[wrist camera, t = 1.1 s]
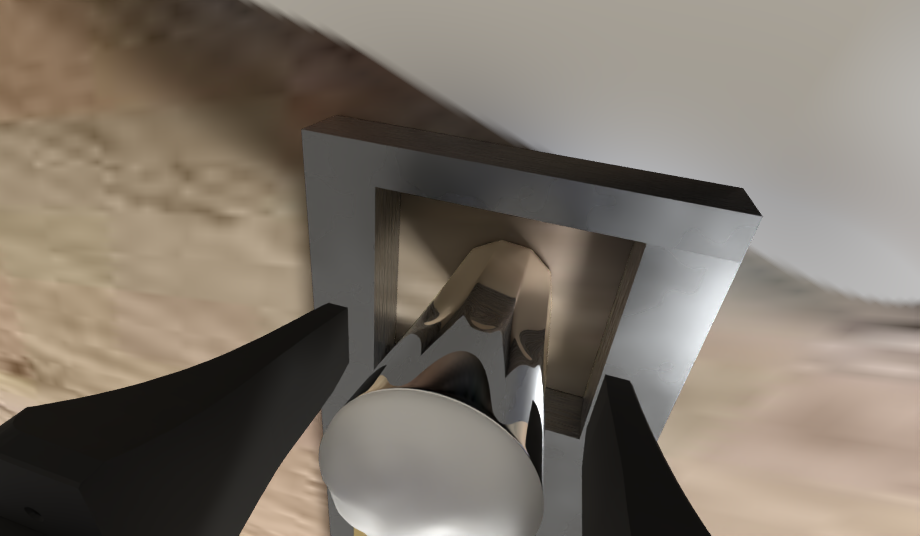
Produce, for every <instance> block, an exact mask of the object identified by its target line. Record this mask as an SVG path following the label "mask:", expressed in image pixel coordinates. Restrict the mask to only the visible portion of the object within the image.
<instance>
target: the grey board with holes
mask: <svg viewBox="0 0 920 536" xmlns="http://www.w3.org/2000/svg"><path fill="white" fill-rule="evenodd" d="M301 131H302V145H303V159H304V173H305V187H306V201H307V214H308V228H309V242H310V256H311V270H312V284H313V298H314V310H315V309H316V308H318V307H320V306H322V305H325V304H327V303H332V304H336V305H340V306H344V307H348V330H349V364H348V366H347V367H346V369H345V371H344V373H343V375H342V377H341V379H340V381H339V382H338V384H337V386H336V388H335V389H334V391H333V393H332V394H331V396H330V397H329V398H328V400H327V401H326V403H325V404H324V405H323V407H322V408H321V409H322V423H323V435H324V433H325V431H326V429H327V427H328V425H329V424H330V422H331V421H332V419H333V418H334V416H335V415H336V414H337V412H338V411H339V410H340V409H341V408H342V407H343V406H344V404H345V403H346V402H347V401H348V400H349V399H350V397H351V396H352V395H353V394H354V393H355V391H356V390H357V389H358V388H359V387H360V386H361V384H362V383H363V382H364V381H365V380H366V379H367V377H368V376H369V375H370V374H371V373H372V372H373V370H374V369H375V368H376V367H377V366H378V365H379V363H380V362H381V361H382V360H383V359H384V358H385V356H386V355H387V354H388V353H389V352H390V351H391V349H392V348H393V347H394V346H395V331H396V304H397V278H398V252H399V226H400V199H401V192H403V193H407V194H412V195H417V196H422V197H427V198H431V199H436V200H441V201H446V202H451V203H456V204H460V205H465V206H470V207H475V208H480V209H484V210H489V211H494V212H499V213H504V214H508V215H513V216H518V217H523V218H528V219H533V220H537V221H542V222H547V223H552V224H557V225H561V226H566V227H571V228H576V229H581V230H585V231H590V232H595V233H600V234H605V235H610V236H614V237H619V238H624V239H629V240H634V243H633V246H632V249H631V252H630V255H629V258H628V261H627V264H626V267H625V270H624V273H623V276H622V279H621V282H620V285H619V288H618V292H617V295H616V298H615V301H614V304H613V307H612V310H611V313H610V316H609V319H608V322H607V325H606V328H605V331H604V334H603V337H602V340H601V344H600V347H599V350H598V353H597V356H596V359H595V362H594V365H593V368H592V371H591V374H590V377H589V380H588V383H587V386H586V389H585V392H584V396H583V398H582V397H578V396H575V395H571V394H567V393H564V392H560V391H556V390H553V389H549V388H545V405H546V413H545V453H544V488H543V497H544V511H543V517H542V521H541V524H540V527H539V529H538V531H537V533H536V534H535V536H582V461H583V452H584V443H585V435H586V428H587V425H588V422H589V420H590V417H591V414H592V411H593V408H594V405H595V402H596V400H597V397H598V394H599V391H600V388H601V385H602V382H603V379H604V377H605V374H606V375H610V376H614V377H618V378H621V379H625V380H629V381H630V382H631V383H632V385H633V387H634V390H635V393H636V395H637V398H638V400H639V403H640V405H641V408H642V410H643V413H644V415H645V417H646V420H647V422H648V424H649V426H650V429H651V431H652V433H653V435H654V437H655V439H656V441H657V440H658V438H659V436H660V434H661V432H662V430H663V428H664V425H665V423H666V421H667V419H668V417H669V415H670V413H671V411H672V408H673V406H674V404H675V402H676V400H677V398H678V396H679V394H680V391H681V389H682V387H683V385H684V383H685V381H686V379H687V377H688V374H689V372H690V370H691V368H692V366H693V364H694V362H695V360H696V357H697V355H698V353H699V351H700V349H701V347H702V345H703V343H704V340H705V338H706V336H707V334H708V332H709V330H710V328H711V326H712V323H713V321H714V319H715V317H716V315H717V313H718V311H719V309H720V306H721V304H722V302H723V300H724V298H725V296H726V294H727V292H728V289H729V287H730V285H731V283H732V281H733V279H734V277H735V275H736V272H737V270H738V268H739V266H740V264H741V262H742V260H743V258H744V256H745V253H746V251H747V249H748V247H749V245H750V243H751V241H752V239H753V236H754V234H755V232H756V230H757V228H758V226H759V224H760V221H761V219H762V215H761V213H760V212H759V210H758V209H757V208H756V206H755V205H754V203H753V202H752V200H751V199H750V197H749V196H748V195H747V193H746V192H745V190H744V189H743V188H739V187H733V186H728V185H722V184H716V183H711V182H705V181H700V180H694V179H689V178H683V177H678V176H672V175H666V174H661V173H656V172H650V171H644V170H639V169H633V168H628V167H622V166H617V165H610V164H605V163H600V162H595V161H589V160H583V159H578V158H572V157H567V156H561V155H556V154H550V153H545V152H539V151H533V150H528V149H522V148H517V147H511V146H506V145H500V144H495V143H489V142H484V141H478V140H472V139H467V138H461V137H456V136H450V135H445V134H439V133H434V132H428V131H422V130H417V129H411V128H406V127H400V126H395V125H389V124H384V123H378V122H373V121H367V120H361V119H356V118H350V117H345V116H339V115H335V116H333V117H331V118H328V119H326V120H323V121H321V122H318V123H316V124H313V125H311V126H308V127H306V128H304V129H301ZM327 493H328V507H329V521H330V535H331V536H367V535H366V534H365V533H363V532H362V531H359V530H358V529H356V528H354V527H353V526H351V525H350V524H349V523H348V522H347V521H346V520H345V519H344V518H343V517H342V516H341V515H340V514H339V512H338V510H337V508H336V506H335V504H334V501H333V498H332V495H331V492H330V490H329V488H328V486H327Z"/></svg>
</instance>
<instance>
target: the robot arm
mask: <svg viewBox="0 0 920 536" xmlns="http://www.w3.org/2000/svg"><path fill="white" fill-rule="evenodd" d="M348 364H349V330H348V307H344V306H340V305H336V304H332V303H327V304H325V305H322V306H320V307H318V308H316V309H315V310H313V311H311V312H309V313H307V314H305V315H303V316H301V317H299V318H298V319H296V320H294V321H292V322H290V323H288V324H286V325H284V326H282V327H280V328H278V329H276V330H274V331H273V332H271V333H269V334H267V335H265V336H263V337H261V338H258V339H256V340H254V341H252V342H250V343H248V344H246V345H243V346H241V347H239V348H237V349H235V350H233V351H231V352H228V353H226V354H224V355H221V356H219V357H216V358H214V359H212V360H209V361H206V362H204V363H201V364H198V365H196V366H193V367H190V368H188V369H185V370H182V371H179V372H176V373H172V374H169V375H166V376H163V377H160V378H156V379H153V380H150V381H147V382H143V383H140V384H136V385H133V386H129V387H125V388H121V389H117V390H113V391H109V392H104V393H100V394H96V395H91V396H87V397H82V398H77V399H71V400H66V401H60V402H55V403H50V404H44V405H39V406H32V407H27V408H25V409H24V410H22V411H21V412H19V413H18V414H17V415H15V416H14V417H12V418H11V419H9V420H8V421H6V422H5V423H4V424H2V425H1V426H0V536H239V534H240V533H241V531H242V529H243V527H244V526H245V524H246V522H247V520H248V518H249V517H250V515H251V513H252V511H253V510H254V508H255V506H256V504H257V502H258V501H259V499H260V497H261V496H262V494H263V492H264V491H265V489H266V487H267V486H268V484H269V482H270V481H271V479H272V477H273V475H274V474H275V472H276V470H277V469H278V467H279V466H280V464H281V463H282V461H283V460H284V459H285V457H286V456H287V454H288V453H289V451H290V450H291V449H292V447H293V446H294V445H295V443H296V442H297V441H298V439H299V438H300V437H301V435H302V434H303V433H304V431H305V430H306V428H307V427H308V426H309V424H310V423H311V422H312V420H313V419H314V418H315V416H316V415H317V414H318V412H319V411H320V409H321V408H322V407H323V405H324V404H325V403H326V401H327V400H328V398H329V397H330V396H331V394H332V393H333V391H334V389H335V388H336V386H337V384H338V382H339V381H340V379H341V377H342V375H343V373H344V371H345V369H346V367H347V366H348ZM582 536H711V535H710V533H709V532H708V530H707V529H706V527H705V526H704V524H703V523H702V521H701V520H700V518H699V517H698V515H697V513H696V512H695V510H694V509H693V507H692V505H691V504H690V502H689V501H688V499H687V497H686V496H685V494H684V492H683V490H682V489H681V487H680V485H679V483H678V482H677V480H676V478H675V476H674V474H673V473H672V471H671V469H670V467H669V465H668V463H667V461H666V459H665V458H664V456H663V454H662V451H661V449H660V447H659V445H658V443H657V441H656V439H655V437H654V435H653V433H652V431H651V429H650V426H649V424H648V422H647V420H646V417H645V415H644V413H643V410H642V408H641V405H640V403H639V400H638V398H637V395H636V393H635V390H634V387H633V385H632V383H631V382H630V381H629V380H625V379H621V378H618V377H614V376H610V375H606V374H605V377H604V379H603V382H602V385H601V388H600V391H599V394H598V397H597V400H596V402H595V405H594V408H593V411H592V414H591V417H590V420H589V422H588V425H587V428H586V435H585V443H584V452H583V461H582Z"/></svg>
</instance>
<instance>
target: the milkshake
mask: <svg viewBox="0 0 920 536" xmlns="http://www.w3.org/2000/svg"><path fill="white" fill-rule="evenodd" d="M551 306H552V292H551V271H550V270H549V269H548V268H547V267H546V266H545V264H544V263H543V262H542V261H541V260H540V259H539V257H538V256H537V255H536V254H535V253H534V252H533V250H532V249H530V248H527V247H524V246H520V245H517V244H514V243H510V242H507V241H504V240H499V241H496V242H492V243H489V244H486V245H482V246H479V247H475V248H473V249H472V250H471V251H470V253H469V254H468V255H467V257H466V258H465V259H464V260H463V262H462V263H461V264H460V266H459V267H458V268H457V269H456V271H455V272H454V273H453V275H452V276H451V277H450V278H449V280H448V281H447V282H446V284H445V285H444V286H443V288H442V289H441V290H440V291H439V293H438V294H437V295H436V297H435V298H434V299H433V300H432V302H431V303H430V304H429V306H428V307H427V308H426V309H425V311H424V312H423V313H422V314H421V316H420V317H419V318H418V319H417V321H416V322H415V323H414V324H413V325H412V327H411V328H410V329H409V330H408V331H407V332H406V334H405V335H404V336H403V337H402V338H401V339H400V340H399V341H398V343H397V344H396V345H395V346H394V347H393V348H392V349H391V351H390V352H389V353H388V354H387V355H386V356H385V358H384V359H383V360H382V361H381V362H380V363H379V365H378V366H377V367H376V368H375V369H374V370H373V372H372V373H371V374H370V375H369V376H368V377H367V379H366V380H365V381H364V382H363V383H362V384H361V386H360V387H359V388H358V389H357V390H356V391H355V393H354V394H353V395H352V396H351V397H350V399H349V400H348V401H347V402H346V403H345V404H344V406H343V407H342V408H341V409H340V410H339V411H338V412H337V414H336V415H335V416H334V418H333V419H332V421H331V422H330V424H329V425H328V427H327V429H326V431H325V433H324V435H323V438H322V440H321V444H320V448H319V466H320V471H321V475H322V478H323V481H324V482H325V484H326V485H327V486H328V488H329V490H330V492H331V495H332V498H333V501H334V504H335V506H336V508H337V510H338V512H339V514H340V515H341V516H342V517H343V518H344V519H345V520H346V521H347V522H348V523H349V524H350V525H351V526H353V527H354V528H356V529H358V530H359V531H362V532H363V533H365V534H366V535H367V536H535V534H536V533H537V531H538V529H539V527H540V524H541V521H542V517H543V511H544V497H543V488H544V453H545V413H546V405H545V388H546V374H547V360H548V346H549V333H550V320H551Z"/></svg>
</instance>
